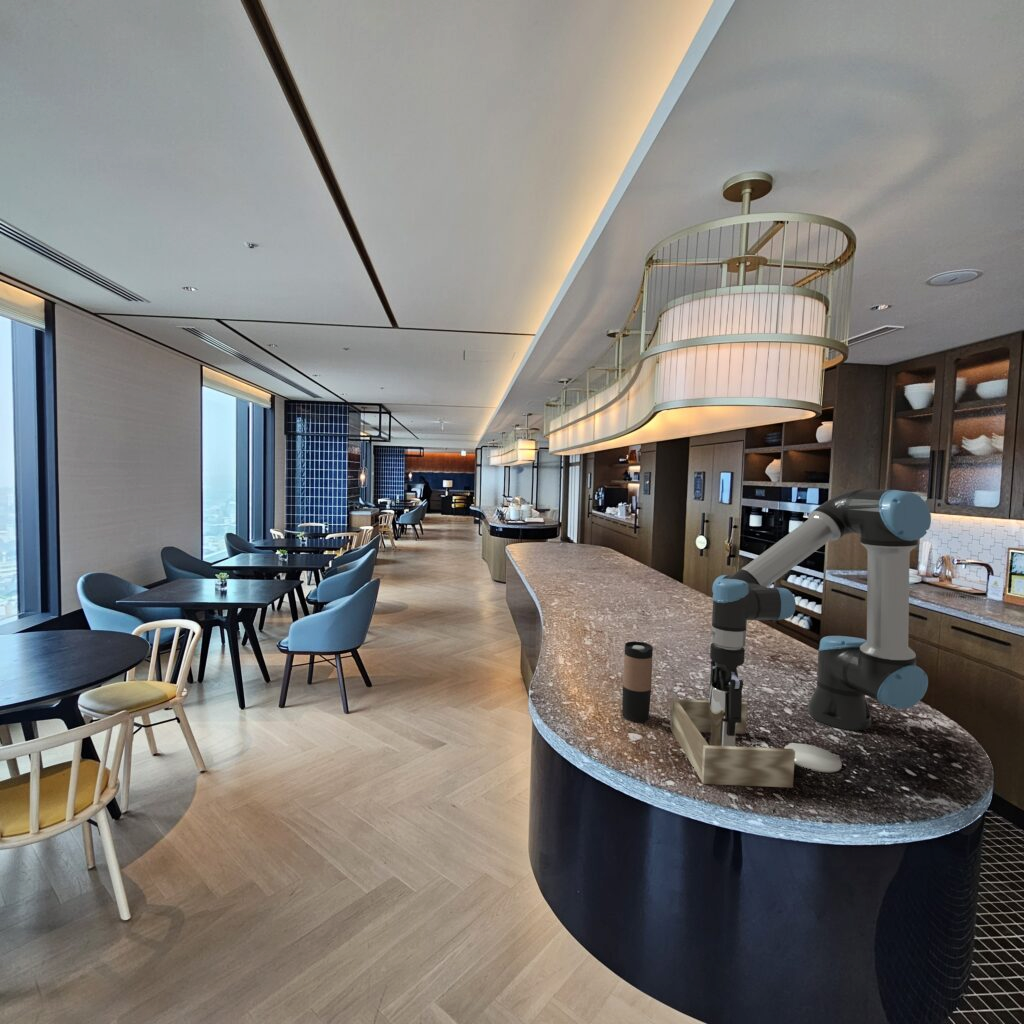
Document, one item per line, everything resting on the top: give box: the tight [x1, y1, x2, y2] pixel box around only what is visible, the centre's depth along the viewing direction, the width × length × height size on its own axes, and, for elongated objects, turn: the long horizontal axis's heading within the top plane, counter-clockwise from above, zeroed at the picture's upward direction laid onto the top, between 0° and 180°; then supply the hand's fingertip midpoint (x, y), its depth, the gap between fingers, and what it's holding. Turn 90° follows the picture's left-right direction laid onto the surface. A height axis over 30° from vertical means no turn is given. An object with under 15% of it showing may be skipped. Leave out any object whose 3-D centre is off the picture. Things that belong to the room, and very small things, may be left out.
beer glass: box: [708, 682, 737, 747], centre depth 126 cm, size 7×7×15 cm
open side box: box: [669, 698, 795, 788], centre depth 126 cm, size 19×25×8 cm
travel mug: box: [621, 641, 654, 723], centre depth 145 cm, size 8×8×20 cm
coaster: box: [784, 743, 843, 774], centre depth 126 cm, size 12×12×1 cm
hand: (722, 739), depth 126 cm, fingers closed on beer glass, 6 cm apart
